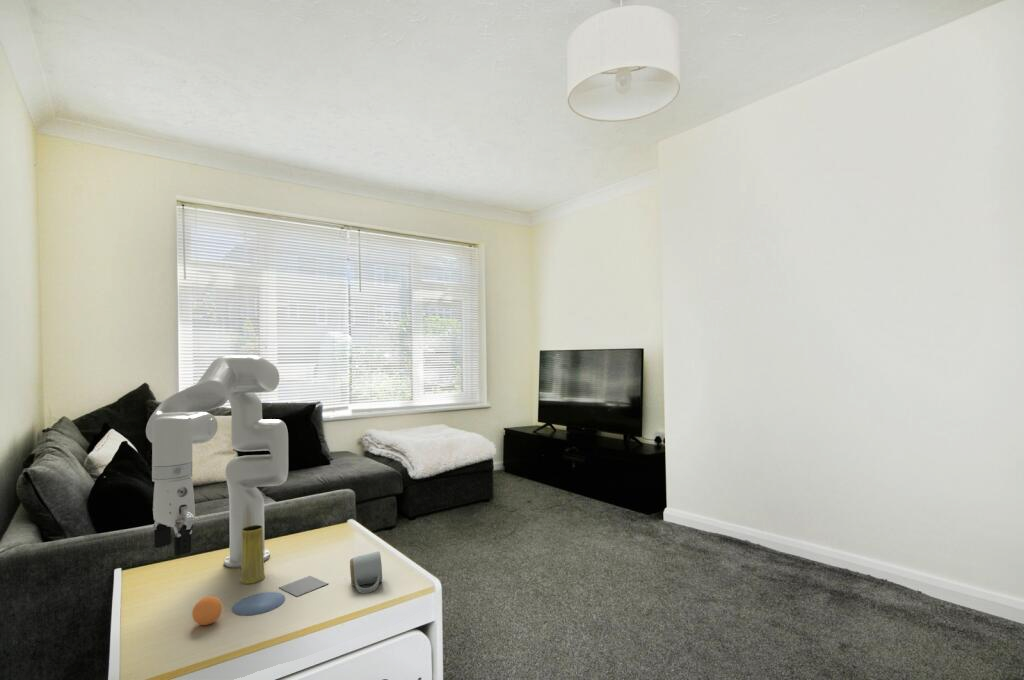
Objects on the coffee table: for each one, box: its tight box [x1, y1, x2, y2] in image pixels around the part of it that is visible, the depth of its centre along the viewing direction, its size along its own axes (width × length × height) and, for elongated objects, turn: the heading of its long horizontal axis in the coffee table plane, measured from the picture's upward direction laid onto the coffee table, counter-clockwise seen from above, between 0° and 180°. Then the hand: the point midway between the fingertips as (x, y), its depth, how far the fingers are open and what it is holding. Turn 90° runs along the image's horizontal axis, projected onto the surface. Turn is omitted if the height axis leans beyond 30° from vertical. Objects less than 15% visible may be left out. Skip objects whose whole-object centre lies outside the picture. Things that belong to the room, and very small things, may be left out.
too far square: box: [278, 575, 329, 598], centre depth 140 cm, size 9×9×1 cm
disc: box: [231, 591, 286, 617], centre depth 130 cm, size 12×12×1 cm
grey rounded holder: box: [349, 551, 383, 593], centre depth 140 cm, size 11×8×8 cm
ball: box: [191, 595, 223, 626], centre depth 121 cm, size 6×6×6 cm
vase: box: [239, 525, 266, 585], centre depth 145 cm, size 6×6×14 cm
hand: (172, 550), depth 115 cm, fingers open, 9 cm apart
